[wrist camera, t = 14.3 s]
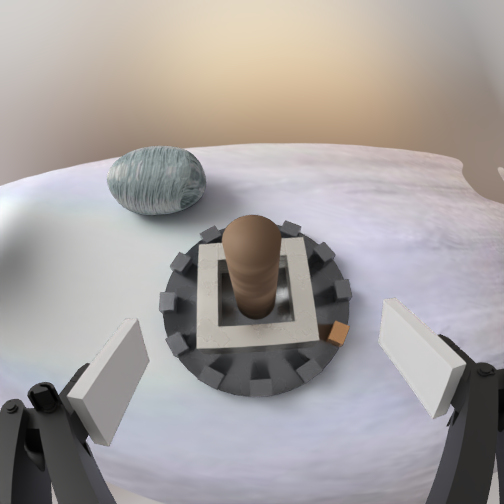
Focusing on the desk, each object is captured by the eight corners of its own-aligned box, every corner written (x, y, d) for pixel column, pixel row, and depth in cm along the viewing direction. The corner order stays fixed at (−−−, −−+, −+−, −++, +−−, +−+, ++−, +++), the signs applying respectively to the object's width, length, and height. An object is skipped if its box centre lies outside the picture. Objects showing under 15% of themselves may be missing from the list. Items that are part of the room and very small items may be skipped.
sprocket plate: (163, 397, 26) (149, 395, 22) (172, 234, 36) (163, 215, 32) (359, 384, 25) (372, 380, 22) (328, 223, 36) (334, 202, 32)
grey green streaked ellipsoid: (221, 155, 38) (181, 124, 29) (213, 222, 38) (167, 205, 29) (148, 164, 43) (105, 143, 34) (139, 221, 43) (91, 209, 34)
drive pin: (237, 320, 29) (222, 267, 18) (236, 285, 31) (221, 217, 20) (276, 318, 29) (284, 262, 18) (273, 282, 31) (277, 213, 20)
